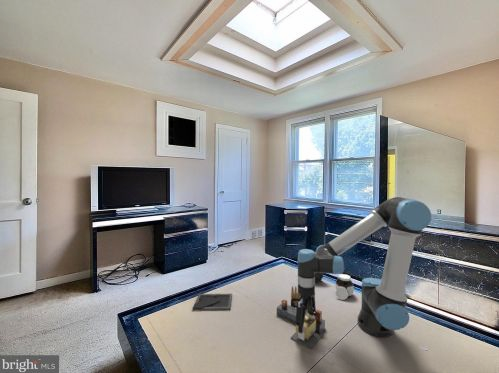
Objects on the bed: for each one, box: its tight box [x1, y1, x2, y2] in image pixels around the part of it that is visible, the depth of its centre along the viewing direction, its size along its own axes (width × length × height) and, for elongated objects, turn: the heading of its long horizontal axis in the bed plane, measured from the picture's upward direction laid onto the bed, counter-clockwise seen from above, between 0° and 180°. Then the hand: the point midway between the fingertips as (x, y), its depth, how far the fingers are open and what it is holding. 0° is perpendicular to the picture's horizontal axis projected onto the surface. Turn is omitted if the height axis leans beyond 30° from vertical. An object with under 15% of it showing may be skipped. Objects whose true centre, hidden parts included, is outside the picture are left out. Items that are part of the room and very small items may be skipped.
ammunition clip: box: [290, 285, 306, 308], centre depth 128 cm, size 11×2×12 cm, turn 89°
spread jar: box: [335, 273, 355, 301], centre depth 140 cm, size 12×11×12 cm
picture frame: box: [192, 293, 233, 311], centre depth 133 cm, size 16×2×21 cm
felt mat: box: [290, 331, 322, 350], centre depth 103 cm, size 10×10×1 cm
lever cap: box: [295, 315, 316, 339], centre depth 103 cm, size 6×8×6 cm
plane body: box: [276, 299, 326, 335], centre depth 115 cm, size 24×6×9 cm, turn 49°
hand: (306, 333), depth 103 cm, fingers closed on lever cap, 8 cm apart
